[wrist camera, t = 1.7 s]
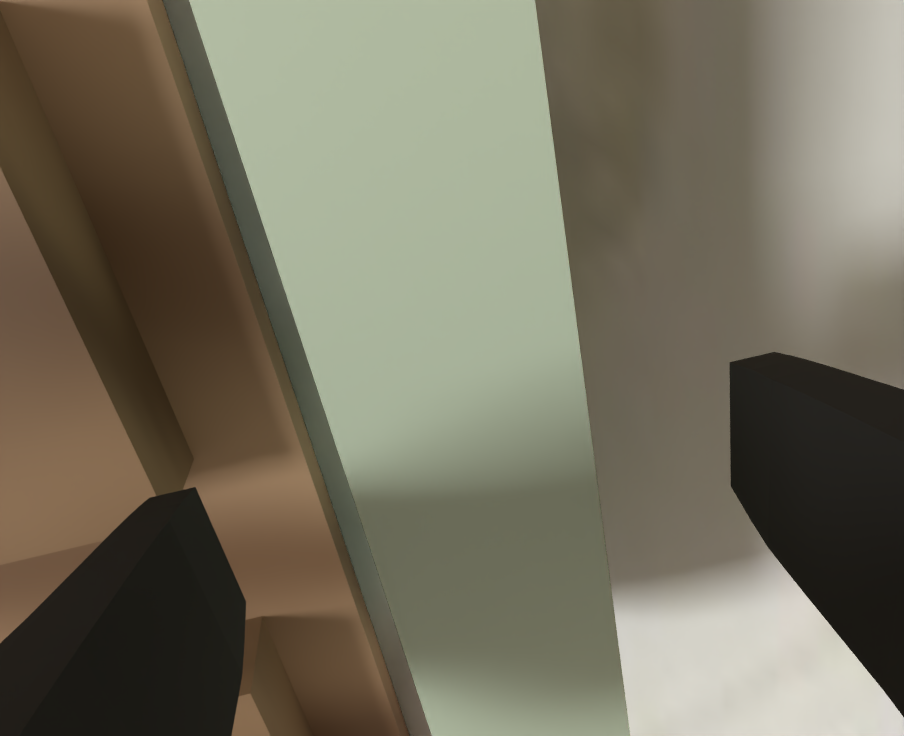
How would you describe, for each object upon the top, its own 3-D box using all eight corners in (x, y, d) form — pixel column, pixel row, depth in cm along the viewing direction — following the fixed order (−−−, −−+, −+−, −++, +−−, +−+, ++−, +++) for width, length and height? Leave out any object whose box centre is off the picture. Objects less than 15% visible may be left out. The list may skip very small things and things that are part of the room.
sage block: (550, 570, 17) (639, 810, 12) (433, 599, 17) (471, 855, 12) (433, -83, 11) (511, -184, 6) (247, -41, 11) (153, -106, 6)
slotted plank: (421, 772, 20) (433, 888, 17) (-2, 879, 19) (-57, 1015, 17) (154, -25, 11) (90, -42, 8) (-644, 143, 10) (-988, 183, 8)
